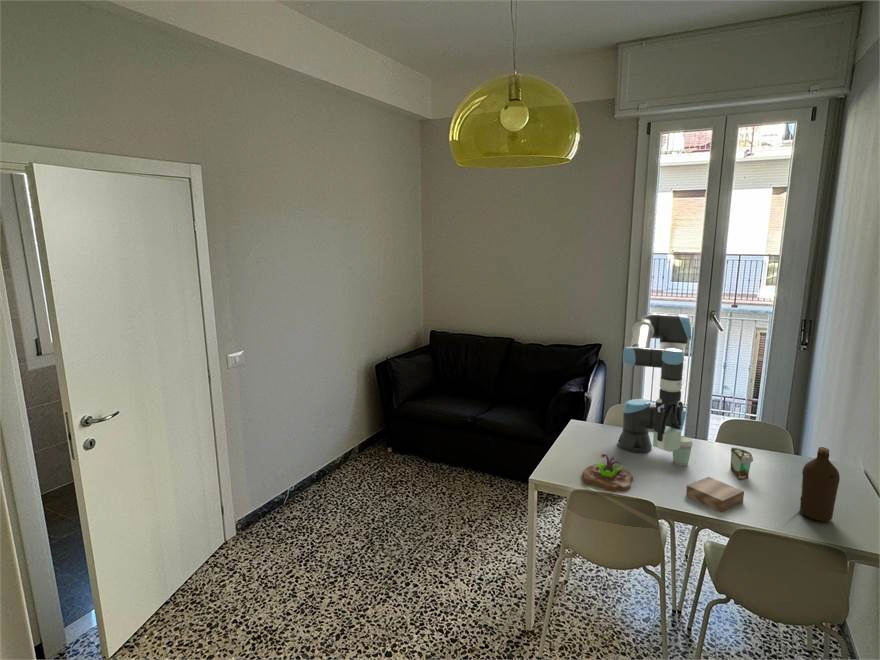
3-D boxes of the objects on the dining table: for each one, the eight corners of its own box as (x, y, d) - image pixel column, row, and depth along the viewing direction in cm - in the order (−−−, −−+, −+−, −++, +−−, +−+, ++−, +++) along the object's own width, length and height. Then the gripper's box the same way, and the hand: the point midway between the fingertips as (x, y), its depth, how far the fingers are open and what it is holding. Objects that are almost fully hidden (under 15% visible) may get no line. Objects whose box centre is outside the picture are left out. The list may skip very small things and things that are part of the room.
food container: (756, 482, 205) (758, 459, 204) (739, 481, 207) (742, 458, 205) (744, 469, 217) (746, 447, 216) (729, 468, 219) (731, 446, 217)
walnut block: (686, 497, 195) (686, 485, 194) (707, 488, 202) (708, 476, 201) (721, 513, 183) (722, 500, 182) (742, 503, 190) (744, 491, 189)
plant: (588, 466, 223) (589, 442, 221) (635, 475, 214) (636, 450, 212) (577, 484, 206) (578, 458, 204) (627, 495, 196) (629, 468, 195)
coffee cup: (674, 458, 229) (676, 433, 227) (694, 464, 223) (696, 438, 221) (666, 464, 223) (668, 438, 221) (686, 470, 217) (688, 444, 215)
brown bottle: (840, 517, 179) (849, 451, 175) (824, 525, 174) (833, 457, 170) (807, 504, 188) (814, 440, 184) (791, 511, 183) (799, 446, 179)
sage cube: (652, 446, 196) (653, 428, 195) (663, 442, 200) (664, 425, 199) (669, 451, 190) (670, 434, 189) (680, 447, 194) (681, 430, 193)
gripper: (664, 396, 183) (659, 455, 187) (694, 387, 194) (690, 443, 197) (645, 391, 189) (642, 448, 193) (676, 383, 200) (672, 437, 204)
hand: (666, 446), depth 195 cm, fingers closed on sage cube, 7 cm apart
